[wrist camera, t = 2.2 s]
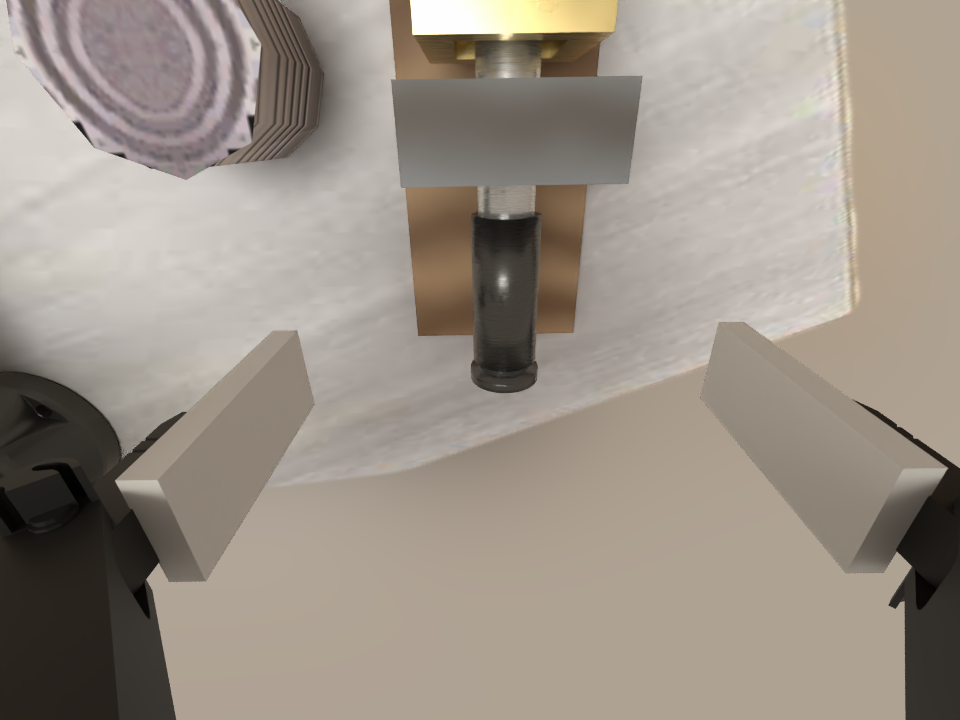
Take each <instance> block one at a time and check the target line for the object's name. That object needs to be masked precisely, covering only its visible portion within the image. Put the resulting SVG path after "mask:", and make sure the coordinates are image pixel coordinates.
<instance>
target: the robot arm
mask: <svg viewBox="0 0 960 720" xmlns="http://www.w3.org/2000/svg"><path fill="white" fill-rule="evenodd" d="M700 398H701V400H702V401H703V402H704V403H705V404H706V406H707V407H708V408H709V409H710V410H711V412H712V413H713V414H714V415H715V416H716V418H717V419H718V420H719V421H720V422H721V424H722V425H723V426H724V427H725V429H726V430H728V432H729V433H730V434H731V436H732V437H733V438H734V439H735V441H736V442H737V443H738V444H739V445H740V447H741V448H742V449H743V450H744V451H745V452H746V454H747V455H748V456H749V457H750V459H751V460H752V461H753V462H754V463H755V465H756V466H757V467H758V468H759V469H760V471H761V472H762V473H763V474H764V475H765V477H766V478H767V479H768V480H769V481H770V483H771V484H772V485H773V486H774V487H775V489H776V490H777V491H778V492H779V493H780V495H781V496H782V497H783V498H784V500H785V501H786V502H787V503H788V504H789V506H790V507H791V508H792V509H793V510H794V512H795V513H796V514H797V515H798V516H799V518H801V520H802V521H803V522H804V523H805V525H806V526H807V527H808V528H809V530H810V531H811V532H812V533H813V534H814V536H815V537H816V538H817V539H818V540H819V542H820V543H821V544H822V545H823V547H824V548H825V549H826V550H827V551H828V553H829V554H830V555H831V556H832V557H833V559H834V560H835V561H836V562H837V563H838V565H839V566H840V567H841V568H842V569H843V571H844V572H845V573H884V571H885V570H886V568H887V567H888V565H889V563H890V562H891V560H892V559H893V557H894V555H895V554H896V552H898V553H899V554H900V555H901V556H902V557H903V558H904V559H905V560H906V561H907V562H908V563H909V564H910V565H911V566H912V568H911V569H910V571H909V572H908V574H907V576H906V577H905V578H904V580H903V582H902V583H901V585H900V586H899V588H898V589H897V591H896V592H895V594H894V595H893V597H892V599H891V601H890V603H889V606H891V607H893V608H895V609H896V607H897V606H898V604H899V603H900V602H902V601H905V698H906V699H905V703H906V704H905V707H906V708H905V709H906V720H960V468H958V467H957V466H956V465H954V464H953V463H951V462H950V461H948V460H947V459H946V458H944V457H943V456H941V455H940V454H938V453H937V452H936V451H934V450H933V449H931V448H929V447H928V446H927V445H926V444H924V443H923V442H921V441H920V440H918V439H914V438H913V435H911V434H910V433H908V432H907V431H906V430H904V429H903V428H901V427H897V424H895V423H894V422H893V421H891V420H890V419H888V418H887V417H885V416H884V415H883V414H881V413H880V412H878V411H876V410H874V409H872V408H870V407H868V406H866V405H864V404H861V403H859V402H857V401H855V400H853V399H851V398H849V397H848V396H846V395H845V394H844V393H842V392H841V391H840V390H838V389H837V388H835V387H834V386H833V385H831V384H830V383H828V382H827V381H826V380H824V379H823V378H821V377H820V376H819V375H817V374H816V373H814V372H813V371H812V370H810V369H809V368H807V367H806V366H805V365H803V364H802V363H800V362H799V361H798V360H796V359H795V358H793V357H792V356H791V355H789V354H788V353H786V352H785V351H784V350H782V349H781V348H779V347H778V346H777V345H775V344H774V343H772V342H771V341H770V340H768V339H767V338H765V337H764V336H763V335H761V334H760V333H758V332H757V331H756V330H754V329H753V328H752V327H750V326H749V325H747V324H746V323H745V322H719V324H718V328H717V332H716V336H715V340H714V344H713V348H712V352H711V356H710V360H709V364H708V368H707V372H706V376H705V380H704V384H703V388H702V393H701V396H700ZM313 406H314V400H313V396H312V392H311V387H310V383H309V379H308V375H307V370H306V366H305V362H304V357H303V353H302V349H301V345H300V340H299V336H298V332H297V330H294V331H272V332H271V333H270V334H269V335H268V336H267V337H266V338H265V339H264V340H263V341H262V342H261V343H260V344H259V345H257V346H256V347H255V348H254V349H253V350H252V351H251V352H250V353H249V354H248V355H247V356H246V357H245V358H244V359H243V360H242V361H241V362H240V363H238V364H237V365H236V366H235V367H234V368H233V369H232V370H231V371H230V372H229V373H228V374H227V375H226V376H225V377H224V378H223V379H222V380H221V381H219V382H218V383H217V384H216V385H215V386H214V387H213V388H212V389H211V390H210V391H209V392H208V393H207V394H206V395H205V396H204V397H203V398H202V399H201V400H199V401H198V402H197V403H196V404H195V405H194V406H193V407H192V408H191V409H190V410H189V411H188V412H181V413H180V414H178V415H176V416H174V417H173V418H171V419H169V420H167V421H166V422H164V423H162V424H161V425H160V426H158V427H157V428H156V429H155V430H154V431H153V432H152V433H151V434H150V435H149V436H147V437H146V440H145V441H142V442H141V443H140V444H139V445H137V446H136V447H135V448H134V449H133V452H132V453H129V454H128V455H126V456H125V457H124V458H123V459H122V460H121V461H120V462H119V460H120V450H119V445H118V442H117V439H116V437H115V434H114V432H113V431H112V429H111V427H110V426H109V424H108V423H107V422H106V420H105V419H104V418H103V417H102V416H101V415H100V413H99V412H98V411H97V410H96V409H94V408H93V407H92V406H91V405H90V404H89V403H87V402H86V401H85V400H84V399H82V398H81V397H79V396H78V395H76V394H75V393H73V392H71V391H70V390H68V389H66V388H64V387H62V386H60V385H58V384H56V383H53V382H51V381H48V380H46V379H43V378H40V377H36V376H32V375H28V374H22V373H15V372H0V720H176V716H175V711H174V706H173V700H172V695H171V689H170V684H169V678H168V673H167V668H166V662H165V658H164V652H163V646H162V641H161V635H160V630H159V624H158V619H157V614H156V608H155V603H154V598H153V592H152V589H151V587H150V586H149V584H148V582H147V580H146V579H147V577H148V576H149V575H150V573H151V572H152V571H153V569H154V568H155V567H156V565H157V564H158V563H159V564H160V566H161V568H162V569H163V571H164V573H165V575H166V577H167V578H168V581H169V582H185V581H186V582H187V581H206V580H207V578H208V577H209V575H210V574H211V572H212V570H213V569H214V567H215V566H216V564H217V562H218V561H219V559H220V557H221V556H222V554H223V553H224V551H225V549H226V547H227V546H228V544H229V543H230V541H231V539H232V538H233V536H234V535H235V533H236V531H237V530H238V528H239V526H240V525H241V523H242V522H243V520H244V518H245V517H246V515H247V513H248V512H249V510H250V509H251V507H252V505H253V504H254V502H255V500H256V499H257V497H258V496H259V494H260V492H261V491H262V489H263V487H264V486H265V484H266V483H267V481H268V479H269V478H270V476H271V474H272V473H273V471H274V470H275V468H276V466H277V465H278V463H279V461H280V460H281V458H282V456H283V455H284V453H285V452H286V450H287V448H288V447H289V445H290V443H291V442H292V440H293V439H294V437H295V435H296V434H297V432H298V430H299V429H300V427H301V426H302V424H303V422H304V421H305V419H306V417H307V416H308V414H309V413H310V411H311V409H312V408H313Z"/></svg>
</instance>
